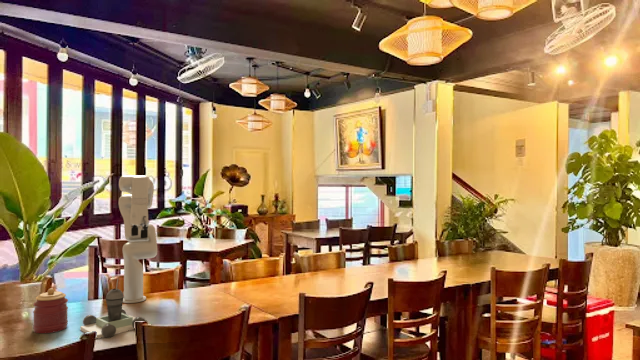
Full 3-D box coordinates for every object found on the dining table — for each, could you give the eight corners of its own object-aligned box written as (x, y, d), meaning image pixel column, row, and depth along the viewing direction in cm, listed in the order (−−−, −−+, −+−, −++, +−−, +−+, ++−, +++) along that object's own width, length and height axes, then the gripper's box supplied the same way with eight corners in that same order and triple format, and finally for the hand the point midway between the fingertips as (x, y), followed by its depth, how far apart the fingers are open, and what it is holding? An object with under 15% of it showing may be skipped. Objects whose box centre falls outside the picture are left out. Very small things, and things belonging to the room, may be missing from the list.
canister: (74, 325, 198) (75, 285, 198) (51, 335, 185) (51, 293, 185) (50, 323, 201) (50, 284, 201) (25, 332, 188) (25, 291, 188)
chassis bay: (78, 328, 193) (78, 317, 193) (127, 317, 210) (127, 306, 210) (98, 340, 180) (98, 328, 180) (149, 327, 196) (150, 315, 196)
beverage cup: (109, 321, 198) (109, 277, 198) (126, 321, 199) (126, 277, 199) (102, 327, 191) (103, 280, 191) (120, 326, 192) (120, 280, 192)
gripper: (124, 200, 218) (123, 235, 219) (140, 203, 207) (140, 239, 207) (138, 200, 224) (138, 234, 224) (155, 202, 212) (155, 238, 213)
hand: (139, 236), depth 216 cm, fingers open, 9 cm apart
